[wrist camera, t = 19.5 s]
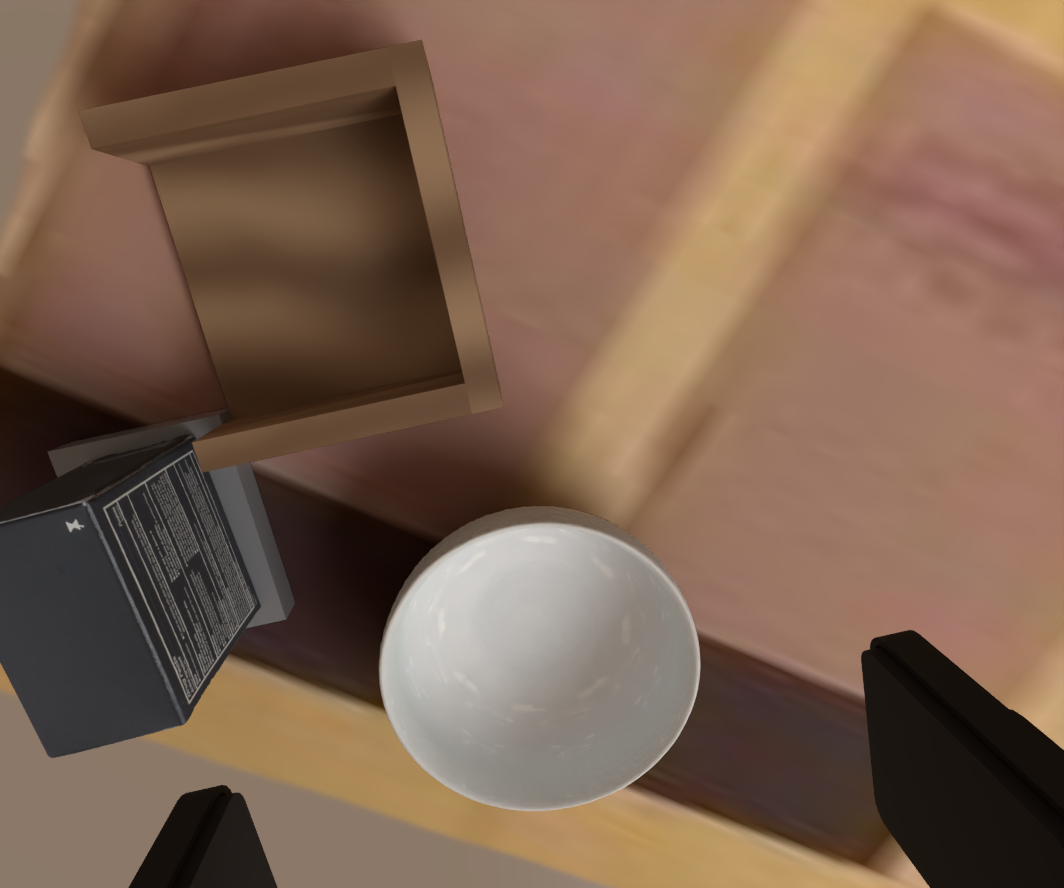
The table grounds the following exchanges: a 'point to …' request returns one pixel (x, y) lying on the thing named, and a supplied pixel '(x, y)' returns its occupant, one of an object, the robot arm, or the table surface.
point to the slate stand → (233, 493)
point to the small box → (119, 596)
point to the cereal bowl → (539, 660)
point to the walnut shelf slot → (317, 249)
